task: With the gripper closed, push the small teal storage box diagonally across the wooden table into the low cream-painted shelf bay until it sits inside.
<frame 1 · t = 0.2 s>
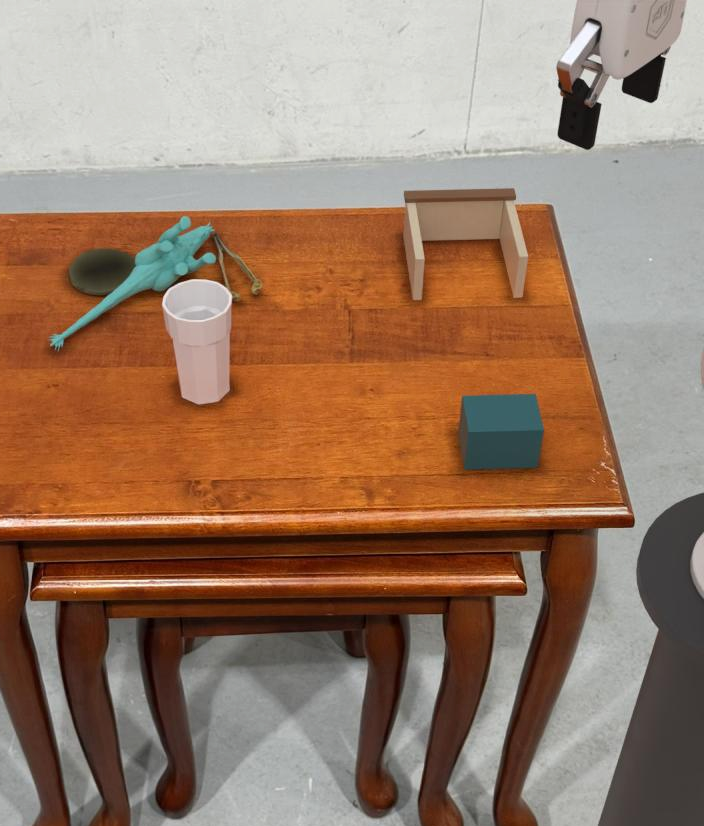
hand: (607, 119, 107), 31 cm above the table, tool pointing down, fingers open, 9 cm apart
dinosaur: (159, 269, 135), point 5 cm above the table, touching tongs
cup: (204, 388, 130), on the table
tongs: (228, 272, 144), on the table, touching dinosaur
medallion: (103, 268, 143), point 1 cm above the table
box: (497, 450, 123), on the table
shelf: (461, 266, 144), on the table
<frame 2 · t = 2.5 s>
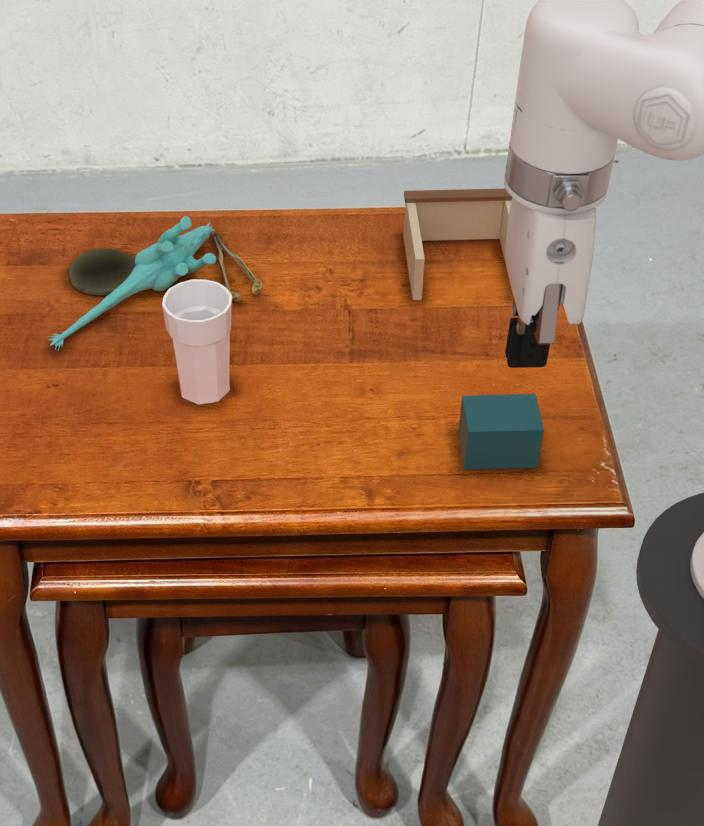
hand: (525, 360, 106), 17 cm above the table, tool pointing down, fingers closed
nothing on the table moved.
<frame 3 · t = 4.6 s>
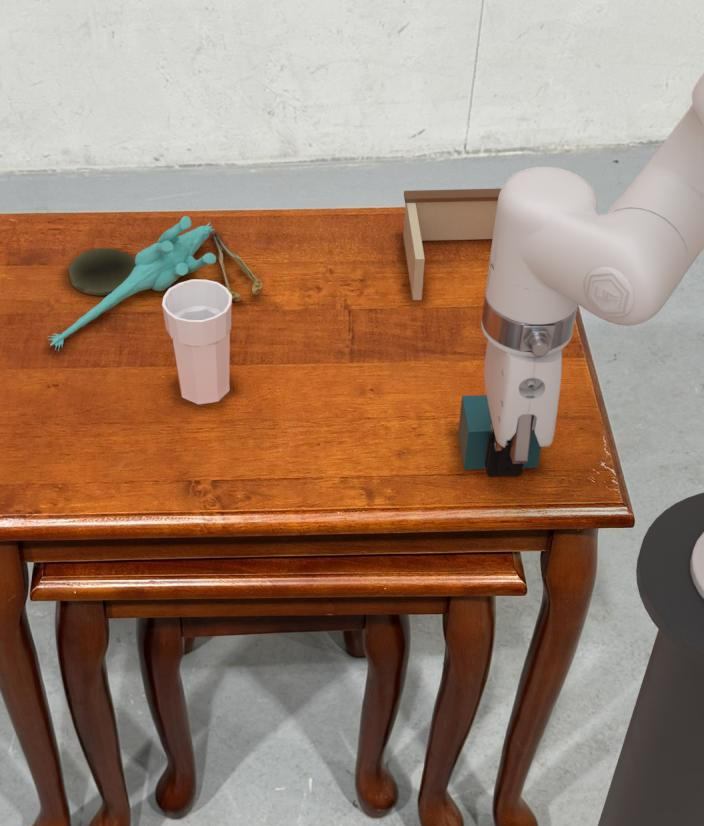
hand: (502, 470, 118), 2 cm above the table, tool pointing down, fingers closed
box: (497, 450, 123), on the table, touching gripper
everything else where it was.
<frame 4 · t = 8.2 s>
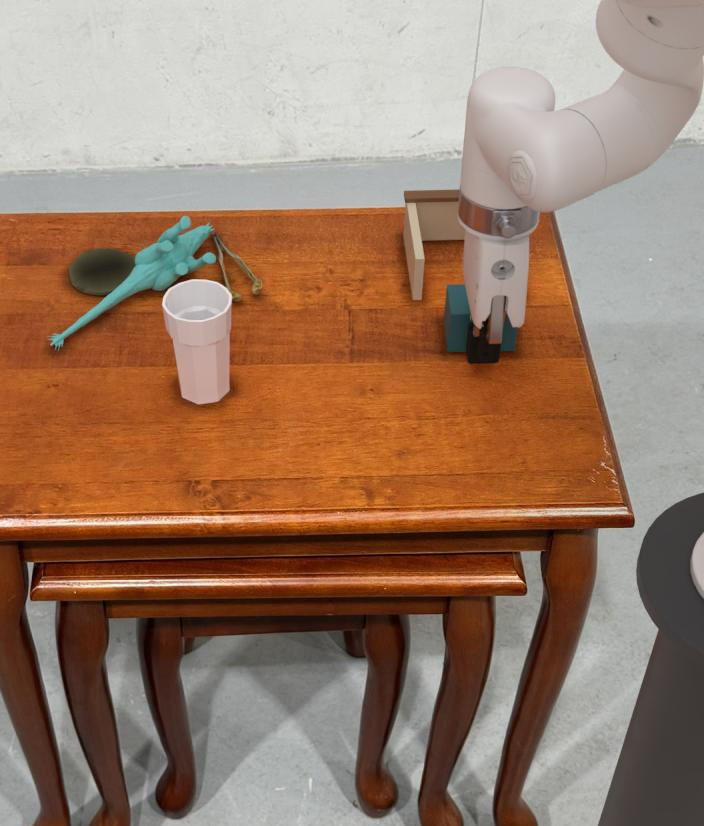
hand: (481, 358, 131), 1 cm above the table, tool pointing down, fingers closed
box: (478, 336, 135), on the table, touching gripper
everything else where it was.
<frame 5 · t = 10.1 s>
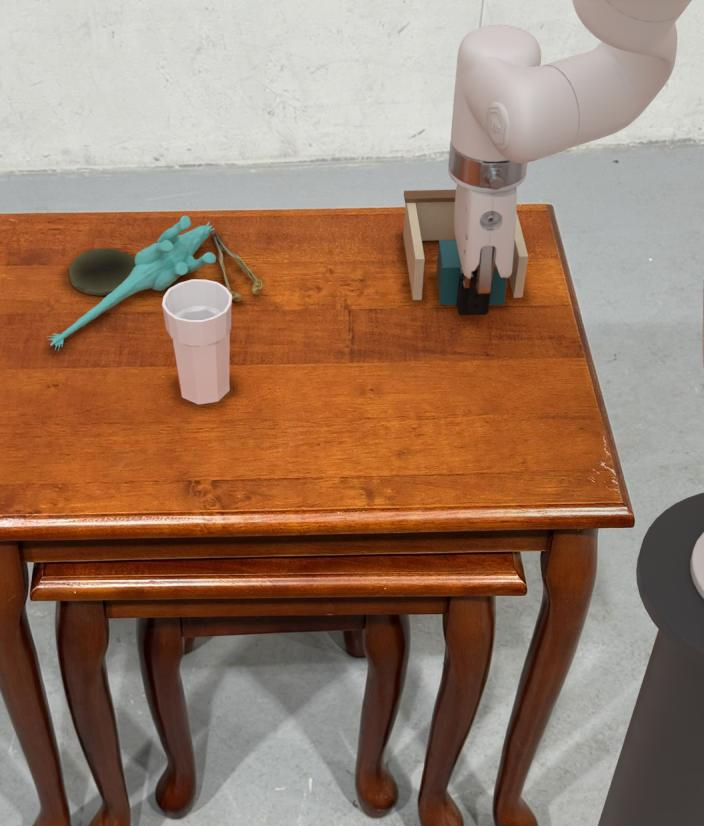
hand: (472, 310, 136), 1 cm above the table, tool pointing down, fingers closed
box: (469, 291, 141), on the table, touching gripper
everything else where it was.
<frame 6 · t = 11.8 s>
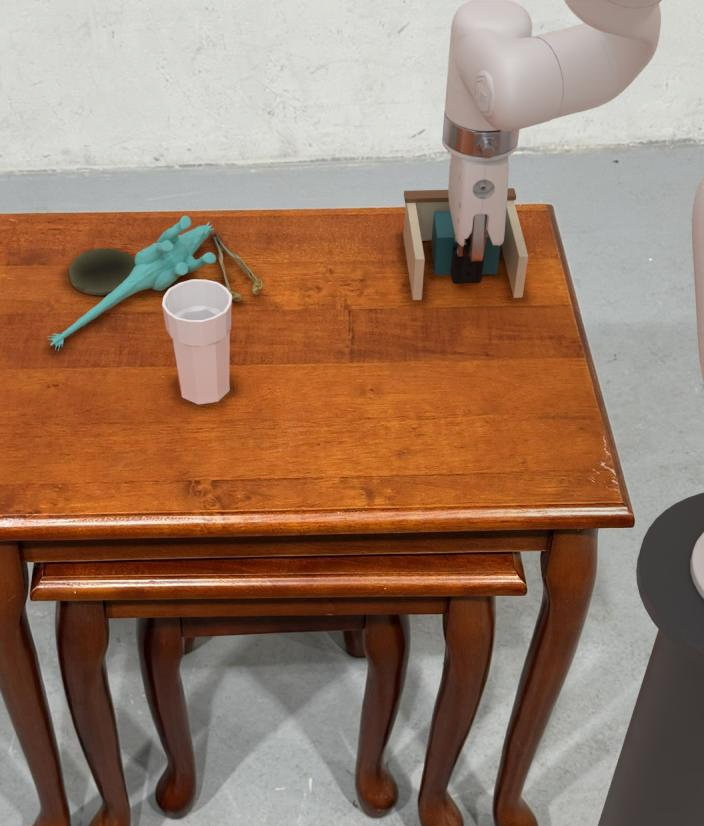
hand: (465, 278, 140), 1 cm above the table, tool pointing down, fingers closed
box: (463, 261, 145), on the table, touching gripper
everything else where it was.
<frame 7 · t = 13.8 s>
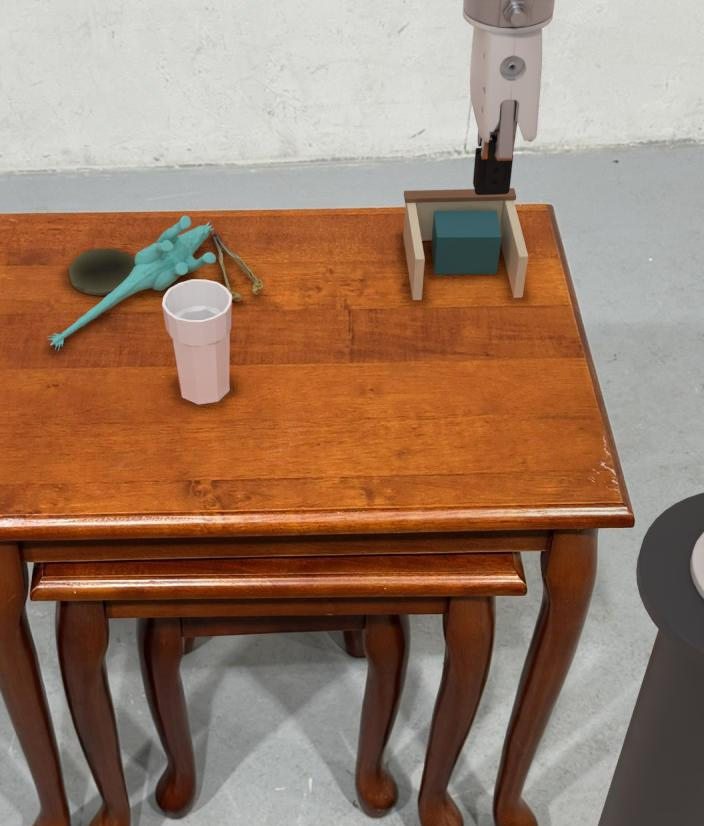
hand: (490, 189, 119), 20 cm above the table, tool pointing down, fingers closed
box: (463, 261, 145), on the table
everything else where it was.
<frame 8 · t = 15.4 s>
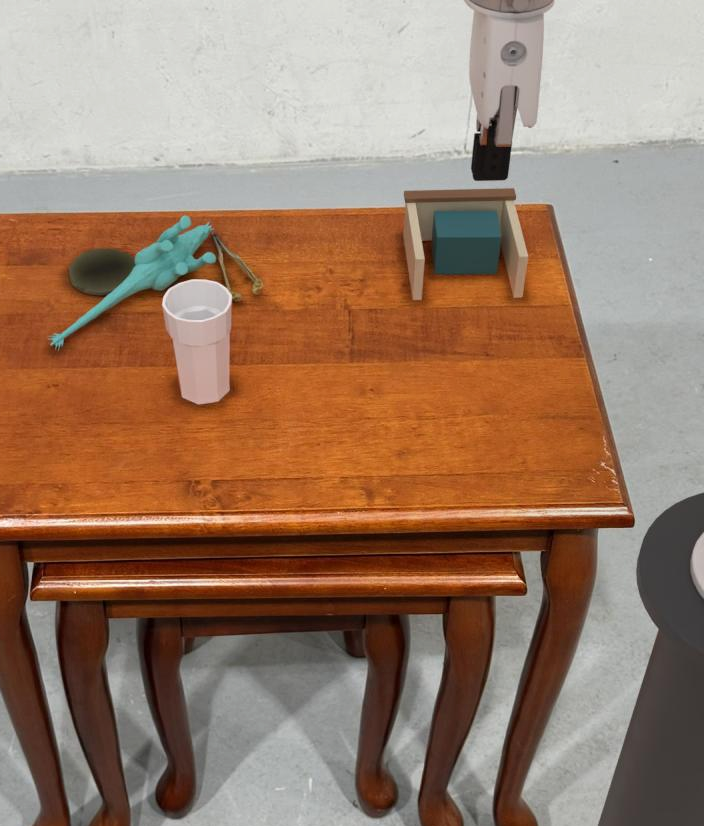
hand: (489, 175, 118), 21 cm above the table, tool pointing down, fingers closed
nothing on the table moved.
at the end: box 1.0 cm from the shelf (horizontally); box tilted 0°; box on the table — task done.
